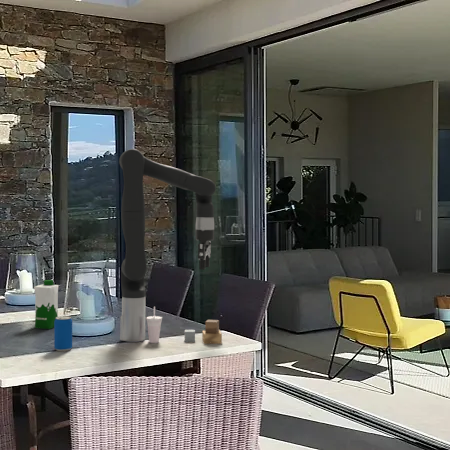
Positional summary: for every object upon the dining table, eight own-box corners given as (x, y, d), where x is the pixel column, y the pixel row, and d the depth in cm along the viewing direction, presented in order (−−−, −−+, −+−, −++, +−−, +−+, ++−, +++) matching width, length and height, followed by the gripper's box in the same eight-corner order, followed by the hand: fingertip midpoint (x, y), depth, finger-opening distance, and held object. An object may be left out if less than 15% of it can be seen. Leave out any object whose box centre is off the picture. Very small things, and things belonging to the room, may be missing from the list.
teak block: (203, 344, 261) (203, 334, 261) (202, 340, 268) (202, 330, 268) (221, 344, 262) (221, 334, 261) (219, 340, 269) (219, 330, 268)
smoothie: (147, 344, 259) (147, 308, 258) (144, 340, 265) (144, 305, 264) (163, 343, 260) (163, 307, 260) (160, 339, 266) (160, 304, 266)
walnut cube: (216, 333, 262) (216, 322, 262) (205, 333, 263) (205, 321, 263) (218, 331, 266) (218, 320, 266) (207, 330, 267) (207, 319, 267)
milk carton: (60, 325, 292) (60, 280, 291) (50, 329, 283) (50, 282, 282) (42, 324, 294) (42, 279, 293) (31, 328, 285) (31, 281, 284)
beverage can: (65, 346, 252) (65, 315, 252) (75, 349, 248) (75, 317, 248) (50, 349, 247) (50, 317, 247) (61, 352, 243) (61, 319, 243)
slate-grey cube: (184, 341, 264) (184, 331, 264) (184, 339, 268) (184, 329, 268) (194, 341, 264) (195, 331, 264) (194, 339, 268) (194, 329, 268)
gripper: (199, 227, 279) (199, 266, 280) (191, 229, 265) (191, 269, 266) (217, 227, 278) (216, 266, 278) (210, 229, 264) (210, 270, 264)
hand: (204, 268), depth 272 cm, fingers open, 8 cm apart
